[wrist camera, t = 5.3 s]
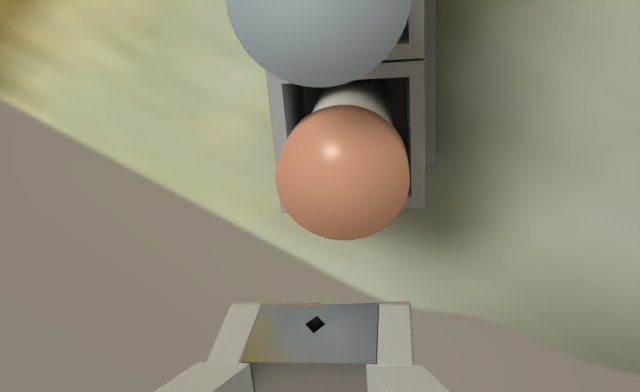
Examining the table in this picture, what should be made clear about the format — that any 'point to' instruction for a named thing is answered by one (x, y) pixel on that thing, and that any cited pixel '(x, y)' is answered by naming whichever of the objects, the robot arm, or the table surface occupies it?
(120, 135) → the table surface
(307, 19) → the slate plug
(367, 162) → the terracotta plug
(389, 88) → the socket board
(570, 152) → the table surface
